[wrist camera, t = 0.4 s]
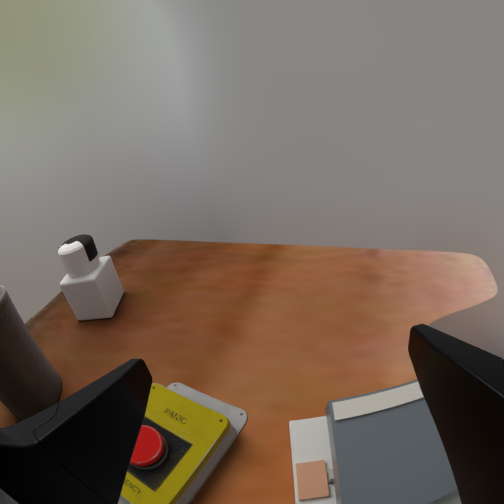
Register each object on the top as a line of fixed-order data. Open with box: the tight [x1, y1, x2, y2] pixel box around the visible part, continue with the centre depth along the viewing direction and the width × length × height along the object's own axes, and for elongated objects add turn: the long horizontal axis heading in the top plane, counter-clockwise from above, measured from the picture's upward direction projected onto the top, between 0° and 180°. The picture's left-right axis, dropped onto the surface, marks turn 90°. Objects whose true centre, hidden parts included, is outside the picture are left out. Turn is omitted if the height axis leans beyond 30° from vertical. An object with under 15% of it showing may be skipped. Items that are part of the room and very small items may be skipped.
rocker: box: [325, 380, 457, 504], centre depth 12 cm, size 9×12×2 cm
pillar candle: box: [0, 285, 62, 421], centre depth 20 cm, size 10×10×15 cm
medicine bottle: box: [58, 235, 124, 320], centre depth 37 cm, size 7×7×12 cm
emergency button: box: [118, 382, 247, 504], centre depth 18 cm, size 9×4×15 cm
